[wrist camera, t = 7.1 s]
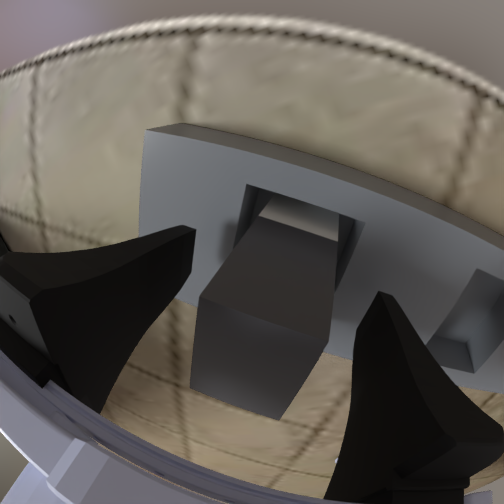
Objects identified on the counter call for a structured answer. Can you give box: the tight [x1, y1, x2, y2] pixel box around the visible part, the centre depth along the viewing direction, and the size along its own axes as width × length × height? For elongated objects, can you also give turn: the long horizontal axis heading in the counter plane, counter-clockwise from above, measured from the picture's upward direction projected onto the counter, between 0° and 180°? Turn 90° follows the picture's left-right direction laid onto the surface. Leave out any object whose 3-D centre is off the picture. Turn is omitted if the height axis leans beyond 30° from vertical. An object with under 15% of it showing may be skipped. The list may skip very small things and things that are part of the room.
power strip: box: [139, 123, 504, 394], centre depth 12 cm, size 24×8×4 cm, turn 78°
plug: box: [190, 193, 339, 420], centre depth 11 cm, size 3×4×8 cm
